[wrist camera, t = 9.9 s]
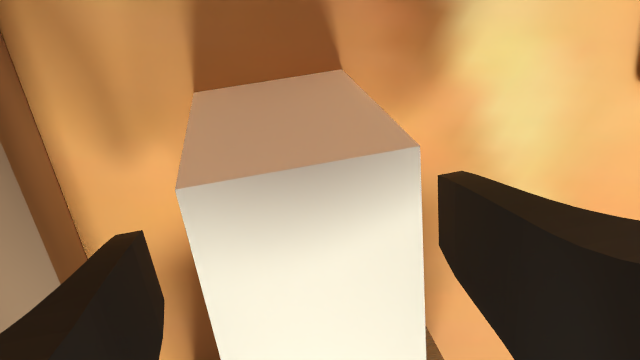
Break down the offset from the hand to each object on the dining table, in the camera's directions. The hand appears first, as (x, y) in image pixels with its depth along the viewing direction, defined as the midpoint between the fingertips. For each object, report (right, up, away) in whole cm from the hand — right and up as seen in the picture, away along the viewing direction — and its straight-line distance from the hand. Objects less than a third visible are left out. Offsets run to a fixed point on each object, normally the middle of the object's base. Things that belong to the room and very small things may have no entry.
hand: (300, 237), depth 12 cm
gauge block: (-1, +1, +3) cm, 3 cm away
